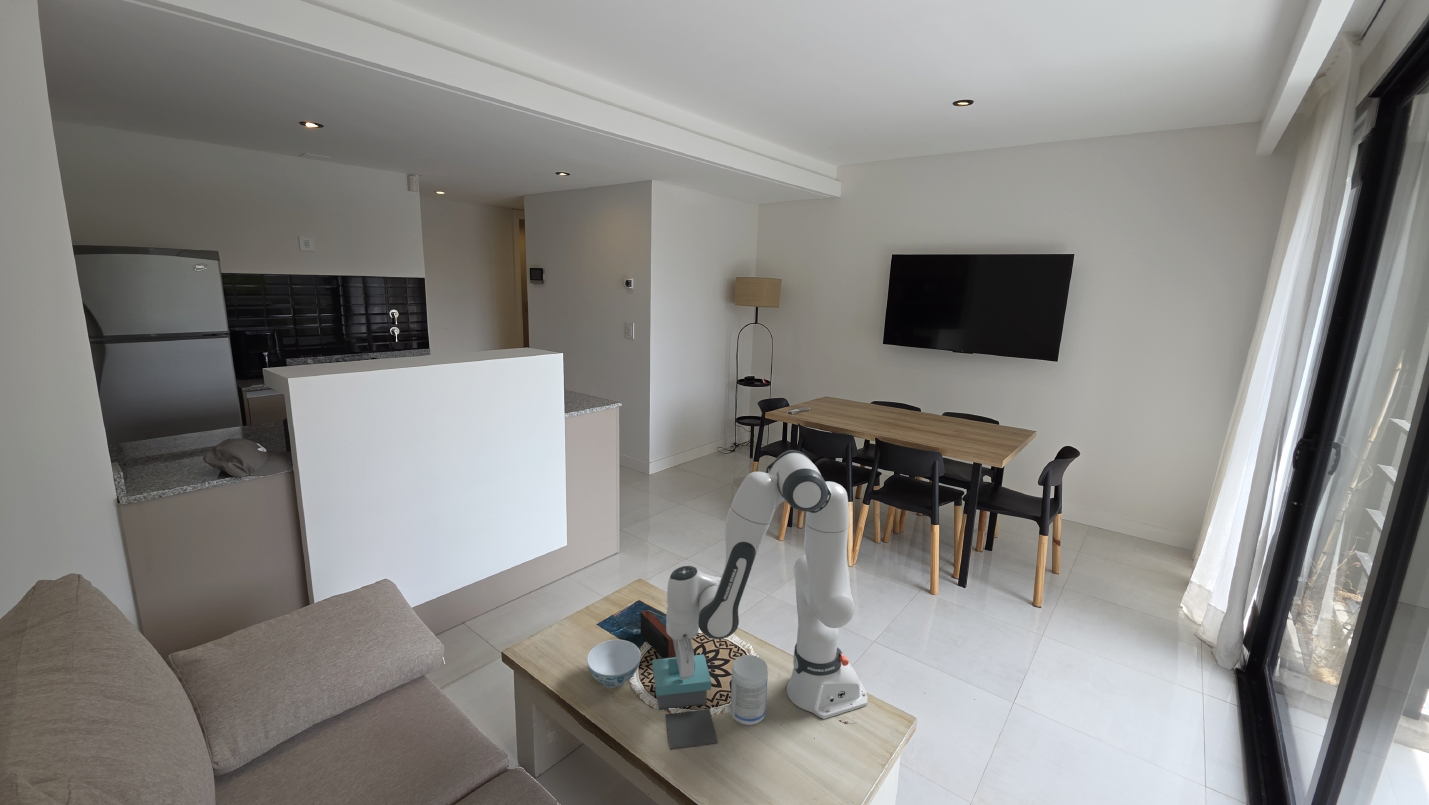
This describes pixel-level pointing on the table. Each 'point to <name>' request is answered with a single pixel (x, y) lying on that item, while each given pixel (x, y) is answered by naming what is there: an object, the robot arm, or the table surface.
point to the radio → (656, 635)
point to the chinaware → (613, 662)
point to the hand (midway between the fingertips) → (681, 668)
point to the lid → (670, 678)
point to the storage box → (682, 700)
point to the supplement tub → (749, 689)
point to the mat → (690, 729)
